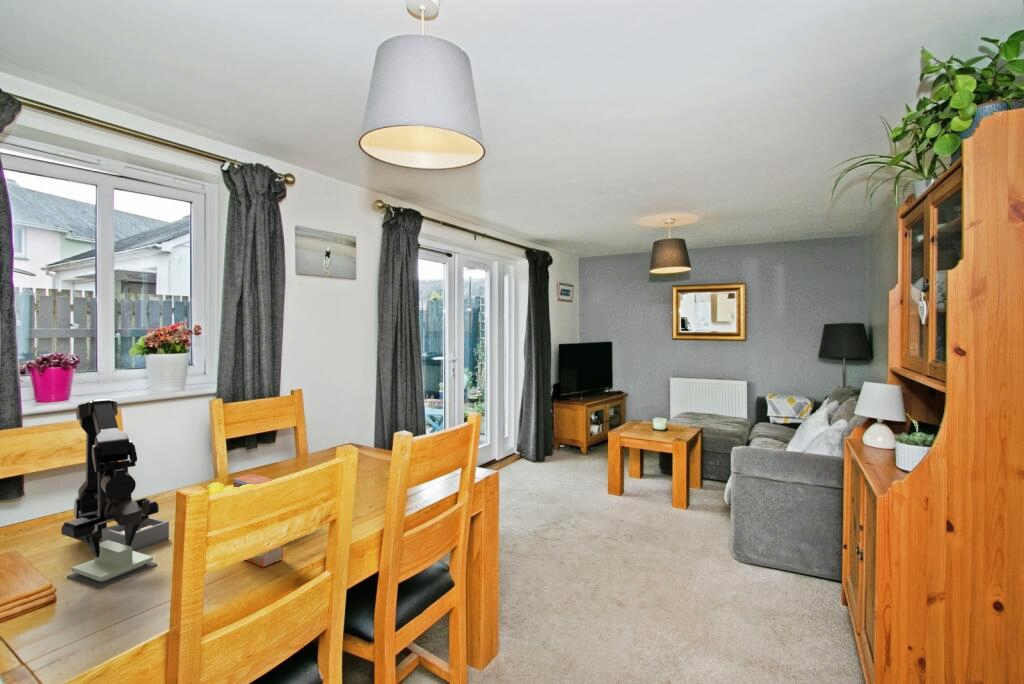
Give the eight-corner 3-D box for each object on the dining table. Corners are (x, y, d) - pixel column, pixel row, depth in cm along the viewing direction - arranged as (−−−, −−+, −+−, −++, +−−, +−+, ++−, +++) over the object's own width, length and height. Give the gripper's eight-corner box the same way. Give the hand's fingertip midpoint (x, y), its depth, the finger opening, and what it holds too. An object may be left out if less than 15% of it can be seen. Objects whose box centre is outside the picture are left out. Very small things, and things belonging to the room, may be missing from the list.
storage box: (102, 546, 139) (101, 528, 138) (144, 532, 149) (144, 515, 148) (126, 554, 134) (126, 535, 134) (168, 538, 144) (168, 521, 144)
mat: (66, 577, 122) (66, 576, 122) (125, 555, 134) (125, 554, 134) (98, 589, 116) (98, 587, 116) (157, 565, 128) (157, 563, 128)
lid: (71, 575, 122) (71, 550, 122) (124, 555, 133) (124, 533, 132) (100, 585, 117) (100, 560, 117) (152, 564, 128) (152, 541, 128)
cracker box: (284, 559, 133) (284, 481, 132) (262, 569, 128) (262, 487, 127) (254, 546, 140) (254, 472, 140) (232, 554, 135) (232, 477, 134)
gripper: (87, 506, 113) (88, 575, 113) (172, 483, 130) (172, 542, 130) (59, 498, 117) (60, 565, 118) (145, 477, 134) (145, 535, 135)
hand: (113, 551), depth 125 cm, fingers open, 7 cm apart
